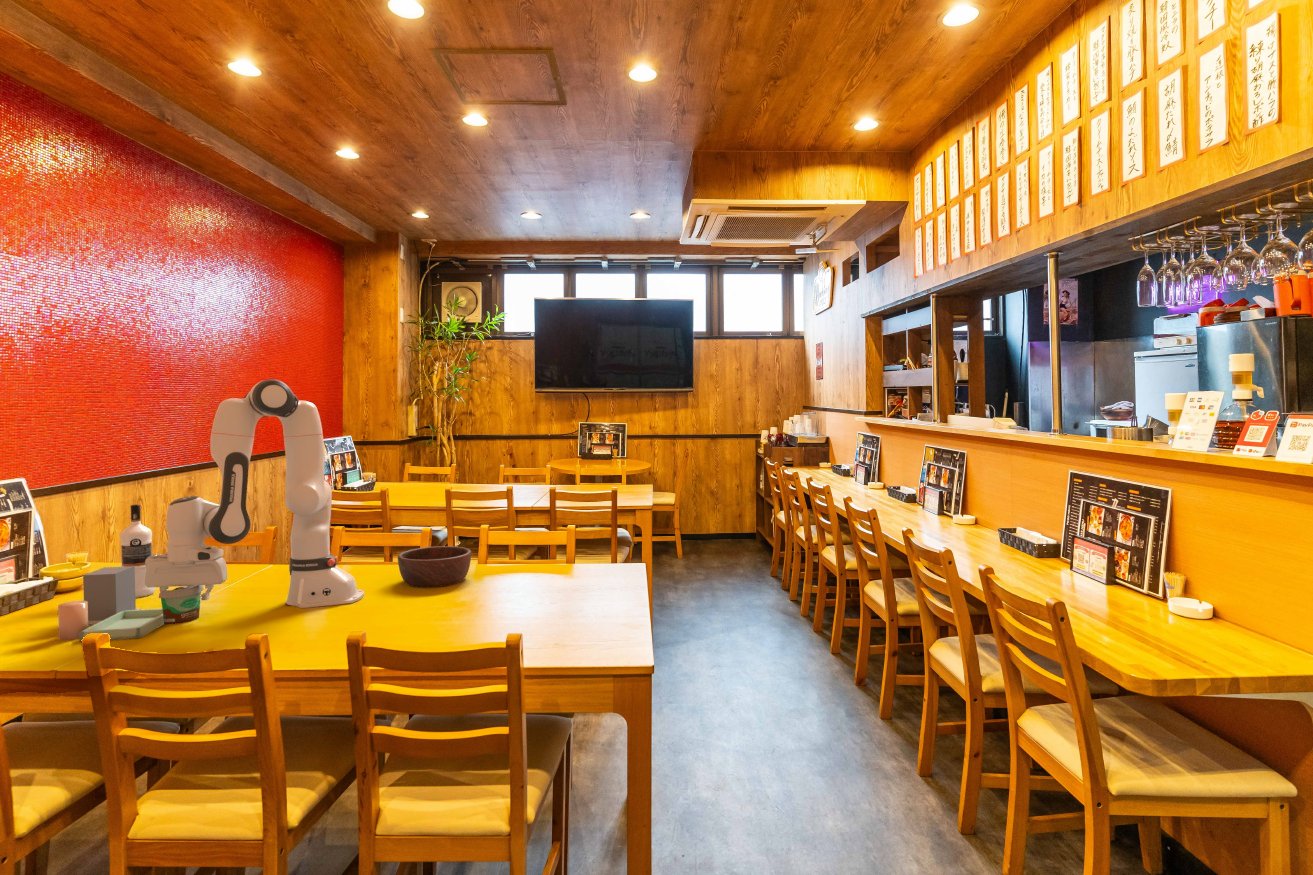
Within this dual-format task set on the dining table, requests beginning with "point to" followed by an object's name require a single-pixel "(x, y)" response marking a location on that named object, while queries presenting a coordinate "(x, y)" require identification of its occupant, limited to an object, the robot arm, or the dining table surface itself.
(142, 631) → the tray
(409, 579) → the wooden bowl
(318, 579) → the robot arm
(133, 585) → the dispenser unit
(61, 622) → the canister
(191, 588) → the food container
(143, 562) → the vodka
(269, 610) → the dining table surface
